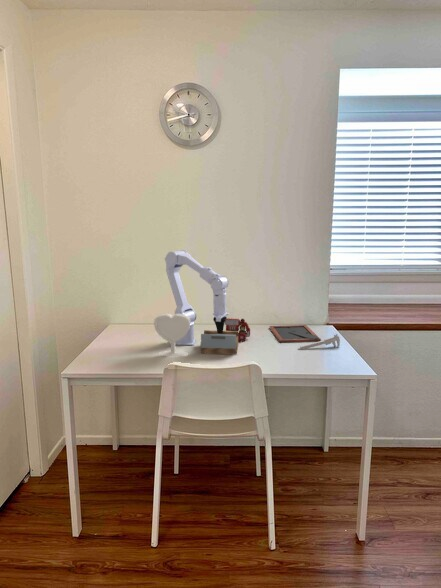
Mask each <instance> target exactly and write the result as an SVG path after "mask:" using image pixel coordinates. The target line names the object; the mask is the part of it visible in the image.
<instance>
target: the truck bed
mask: <svg viewBox="0 0 441 588" xmlns="http://www.w3.org/2000/svg"><path fill="white" fill-rule="evenodd" d="M238 333H239V331H226V330H223V332H222V333H218V332H217V330H209V329H206V330H203V334H223V335H236V349H228V348H201V347H200V354H216V355H217V354H218V355H238V349H239V340H238Z"/></svg>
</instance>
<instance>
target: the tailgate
mask: <svg viewBox="0 0 441 588" xmlns="http://www.w3.org/2000/svg"><path fill="white" fill-rule="evenodd" d="M201 348H228V349H236V335H223V334H204V333H201V334H200V349H201Z"/></svg>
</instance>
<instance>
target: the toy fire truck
mask: <svg viewBox="0 0 441 588" xmlns="http://www.w3.org/2000/svg"><path fill="white" fill-rule="evenodd" d="M224 325H225V331H238V341H239V342H244V341H245V340H246V339H247V338H250V337H251V329H250V326H249V324H248V322H246V321H245V318H241V319H240V318H226V320H225V323H224Z"/></svg>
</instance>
